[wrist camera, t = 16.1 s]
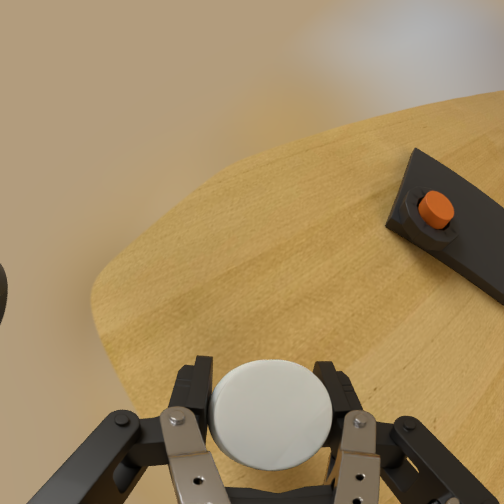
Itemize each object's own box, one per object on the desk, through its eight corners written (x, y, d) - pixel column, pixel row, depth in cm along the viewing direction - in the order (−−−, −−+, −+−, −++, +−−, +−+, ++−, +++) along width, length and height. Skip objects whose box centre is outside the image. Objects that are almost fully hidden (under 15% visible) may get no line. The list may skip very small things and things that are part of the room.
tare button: (415, 217, 24) (423, 206, 23) (421, 195, 26) (428, 184, 24) (443, 235, 24) (452, 226, 22) (447, 212, 25) (455, 202, 24)
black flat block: (381, 234, 26) (395, 214, 24) (410, 155, 33) (420, 137, 30) (502, 314, 23) (521, 302, 20) (507, 222, 29) (520, 208, 27)
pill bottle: (207, 381, 17) (191, 357, 10) (285, 369, 18) (327, 335, 10) (220, 457, 15) (215, 492, 8) (300, 442, 16) (355, 460, 8)
